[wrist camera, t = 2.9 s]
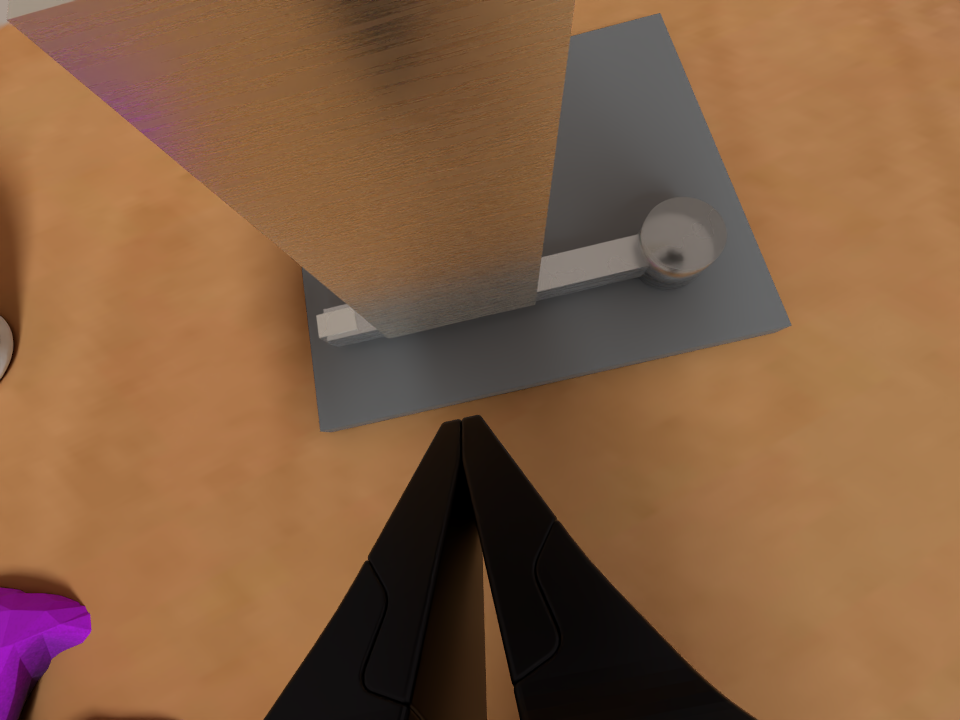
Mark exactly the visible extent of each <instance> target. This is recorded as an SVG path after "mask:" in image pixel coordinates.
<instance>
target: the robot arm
mask: <svg viewBox="0 0 960 720" xmlns="http://www.w3.org/2000/svg"><path fill="white" fill-rule="evenodd" d="M482 552H483V556H482ZM483 557H484V561H485V566H486V570H487V575H488V579H489V583H490V588H491V592H492V597H493V601H494V606H495V610H496V614H497V619H498V623H499V628H500V632H501V636H502V641H503V645H504V650H505V654H506V659H507V663H508V667H509V672H510V676H511V681H512V684H513V686H514V694H515V698H516V703H517V708H518V712H519V717H520V720H757V719H756V718H755V717H753V716H752V715H750V714H749V713H747V712H746V711H744V710H743V709H742V708H740V707H739V706H737V705H736V704H735V703H733V702H732V701H730V700H729V699H728V698H727V697H725V696H724V695H723V694H722V693H721V692H719V691H718V690H717V689H716V688H715V687H714V686H712V685H711V684H710V683H709V682H708V681H707V680H705V679H704V678H703V677H702V676H701V675H700V674H699V673H698V672H697V671H696V670H695V669H694V668H693V667H692V666H691V665H690V664H689V663H688V662H687V661H686V660H685V659H684V658H682V657H681V656H680V655H679V654H678V653H677V651H676V650H675V649H674V648H673V647H672V646H671V645H670V644H669V643H668V642H667V641H666V640H665V639H664V638H663V637H662V636H661V635H660V634H659V633H658V632H657V631H656V630H655V629H654V628H653V627H652V626H651V625H650V623H649V622H648V621H647V620H646V619H645V618H644V617H643V616H642V615H641V614H640V613H639V612H638V611H637V610H636V609H635V608H634V607H633V606H632V605H631V604H630V603H629V602H628V601H627V600H626V599H625V598H624V597H623V596H622V594H621V593H620V592H619V591H618V590H617V589H616V588H615V587H614V586H613V585H612V584H611V583H610V582H609V581H608V580H607V578H606V577H605V576H604V575H603V574H602V573H601V572H600V571H599V570H598V569H597V567H596V566H595V565H594V564H593V563H592V562H591V561H590V560H589V558H588V557H587V556H586V555H585V553H584V552H583V551H582V550H581V548H580V547H579V546H578V545H577V543H576V542H575V541H574V540H573V538H572V537H571V536H570V535H569V533H568V532H567V531H566V529H565V528H564V527H563V525H562V524H561V523H560V521H557V518H556V516H555V515H554V514H553V512H552V511H551V509H550V508H549V507H548V505H547V504H546V503H545V501H544V500H543V499H542V497H541V496H540V495H539V493H538V492H537V491H536V489H535V488H534V487H533V485H532V484H531V483H530V481H529V480H528V479H527V477H526V476H525V475H524V473H523V472H522V471H521V469H520V468H519V467H518V465H517V464H516V463H515V461H514V460H513V458H512V457H511V456H510V454H509V453H508V452H507V450H506V449H505V448H504V446H503V445H502V444H501V442H500V441H499V440H498V438H497V437H496V436H495V434H494V433H493V432H492V430H491V429H490V428H489V426H488V425H487V424H486V422H485V421H484V420H483V418H482V417H481V416H480V415H475V416H470V417H466V418H463V419H462V421H461V420H459V419H457V420H452V421H448V422H444V423H443V424H442V425H441V427H440V428H439V430H438V432H437V434H436V436H435V437H434V439H433V441H432V443H431V445H430V446H429V448H428V450H427V452H426V453H425V455H424V457H423V459H422V461H421V462H420V464H419V466H418V468H417V470H416V471H415V473H414V475H413V477H412V479H411V480H410V482H409V484H408V486H407V487H406V489H405V491H404V493H403V495H402V496H401V498H400V500H399V502H398V504H397V505H396V507H395V509H394V511H393V512H392V514H391V516H390V518H389V520H388V521H387V523H386V525H385V527H384V529H383V530H382V532H381V534H380V536H379V538H378V539H377V541H376V543H375V545H374V546H373V548H372V550H371V552H370V554H369V555H368V560H369V561H368V560H367V561H365V562H364V564H363V566H362V568H361V569H360V571H359V573H358V575H357V577H356V578H355V580H354V582H353V584H352V585H351V587H350V589H349V590H348V592H347V594H346V595H345V597H344V599H343V600H342V602H341V604H340V606H339V607H338V609H337V611H336V612H335V614H334V615H333V617H332V618H331V620H330V621H329V623H328V624H327V626H326V628H325V629H324V631H323V632H322V634H321V635H320V637H319V638H318V640H317V641H316V643H315V644H314V646H313V647H312V649H311V650H310V652H309V653H308V655H307V656H306V658H305V659H304V661H303V662H302V664H301V665H300V667H299V668H298V670H297V671H296V673H295V674H294V675H293V677H292V678H291V680H290V681H289V683H288V684H287V686H286V687H285V689H284V690H283V692H282V693H281V695H280V696H279V698H278V699H277V701H276V702H275V704H274V705H273V706H272V708H271V709H270V711H269V712H268V714H267V715H266V717H265V718H264V720H487V705H486V668H485V631H484V593H483Z"/></svg>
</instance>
